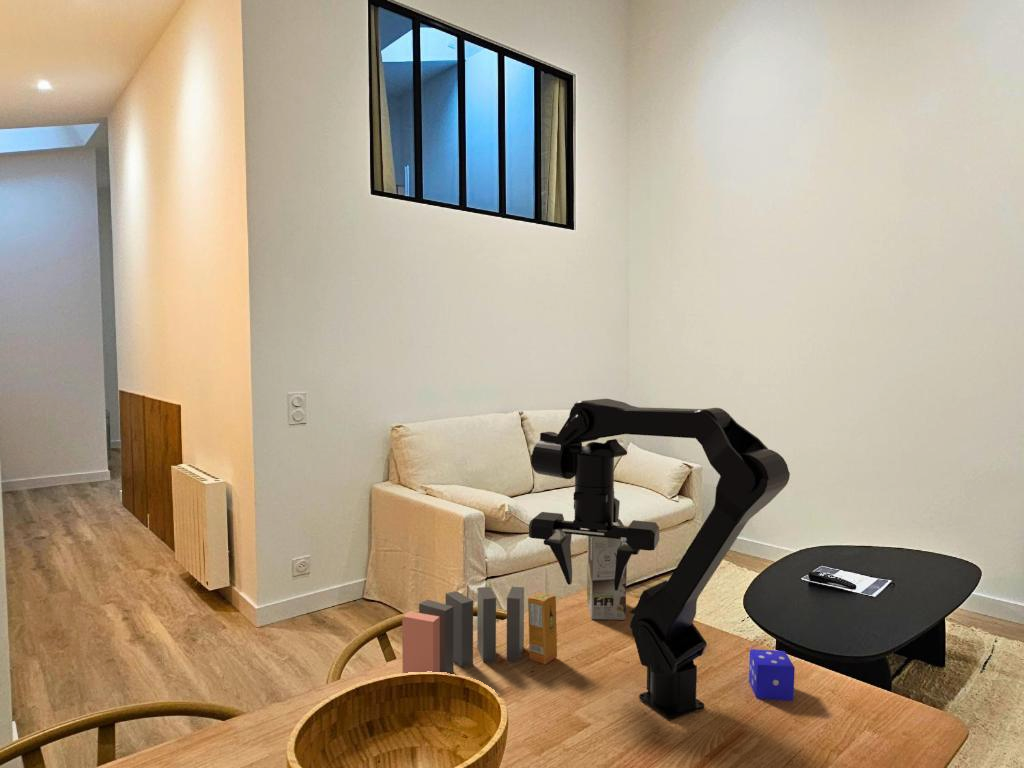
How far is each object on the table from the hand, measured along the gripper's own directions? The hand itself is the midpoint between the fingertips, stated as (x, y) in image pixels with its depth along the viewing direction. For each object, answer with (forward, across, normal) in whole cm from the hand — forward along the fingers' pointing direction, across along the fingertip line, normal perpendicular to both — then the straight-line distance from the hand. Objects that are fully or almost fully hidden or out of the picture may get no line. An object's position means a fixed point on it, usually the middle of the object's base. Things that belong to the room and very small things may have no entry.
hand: (592, 586), depth 104 cm
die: (+13, -25, -3) cm, 29 cm away
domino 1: (+13, +22, +12) cm, 29 cm away
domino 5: (+13, +13, -1) cm, 18 cm away
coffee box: (+13, +3, -24) cm, 27 cm away
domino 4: (+13, +17, 0) cm, 21 cm away
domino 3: (+13, +20, +4) cm, 24 cm away
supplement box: (+13, +8, -1) cm, 16 cm away
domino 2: (+13, +22, +8) cm, 27 cm away
